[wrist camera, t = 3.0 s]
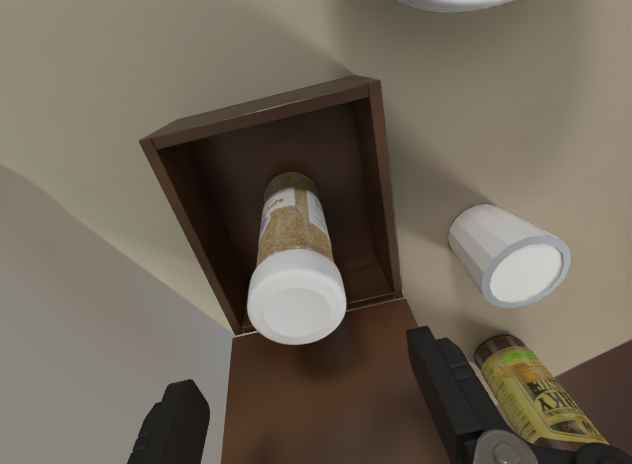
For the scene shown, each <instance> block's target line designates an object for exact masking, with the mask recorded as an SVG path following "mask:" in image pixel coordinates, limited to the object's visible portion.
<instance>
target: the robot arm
mask: <svg viewBox="0 0 632 464" xmlns="http://www.w3.org/2000/svg"><path fill="white" fill-rule="evenodd" d="M406 336H407V344H408V353H409V360H410V364H411V367H412V371H413V373H414V376H415V378H416V381H417V383H418V386H419V388H420V390H421V393H422V395H423V398H424V400H425V402H426V405H427V407H428V410H429V412H430V414H431V417H432V419H433V422H434V424H435V426H436V429H437V431H438V434H439V436H440V438H441V441H442V443H443V446H444V448H445V450H446V453H447V455H448V458H449V460H450V462H451V464H632V457H631V456H629V455H628V454H627V453H625V452H623V451H622V450H620V449H618V448H616V447H614V446H611V445H608V444H604V443H599V442H590V443H586V444H584V445H582V446H581V447H580V448H579V449H578V451H577V452H576V451H569V450H562V449H554V448H547V447H542V446H538V445H535V444H533V443H530V442H528V441H526V440H525V439H523V438H521V437H520V436H519V435H517V434H516V433H515V432H514V431H513V430H511V428H510V427H509V426H508V425H507V423H506V422H505V421H504V419H503V418H502V416H501V414H500V413H499V411H498V409H497V408H496V406H495V404H494V403H493V401H492V400H491V398H490V396H489V395H488V393H487V391H486V390H485V388H484V387H483V385H482V383H481V382H480V380H479V378H478V377H477V376H476V374H475V372H474V370H473V369H472V367H471V365H469V363H468V361H467V359H466V357H465V356H464V354H463V352H462V351H461V349H460V348H459V347H458V346H457V345H455V344H454V343H453V342H452V341H450V340H449V339H448V338H442V339H438V340H435V338H434V336H433V334H432V333H431V331H430V329H429V328H428V326H422V327H418V328H413V329H409V330H406ZM209 420H210V410H209V405H208V402H207V401H206V399H205V398H204V396H203V395H202V393H201V392H200V390H199V389H198V387H197V386H196V384H195V382H194V381H193V380H191V379H189V380H184V381H180V382H176V383H171V384H169V385H168V386H167V388H166V390H165V393H164V396H163V399H162V401H161V402H159V403H156V404H155V405H154V406H153V408H152V409H151V411H150V412H149V413H148V415H147V416H146V418H145V420H144V422H143V424H142V427H141V430H140V432H139V434H138V439H137V440H136V442H135V445H134V447H133V453H131V455H130V458H129V460H128V463H127V464H200V463H201V459H202V454H203V449H204V444H205V439H206V435H207V430H208V425H209Z"/></svg>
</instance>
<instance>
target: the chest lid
mask: <svg viewBox="0 0 632 464" xmlns="http://www.w3.org/2000/svg"><path fill="white" fill-rule="evenodd" d="M413 328H418V325H417V323H416V321H415V318H414V316H413V314H412V312H411V309H410V307H409V305H408V303H407V300H406V299H402V300H398V301H393V302H389V303H384V304H380V305H376V306H371V307H367V308H363V309H358V310H354V311H349V312H345V315H344V317H343V319H342V321H341V323H340V324H339V325H338V327H337V328H336V329H335V330H334V331H333V332H331V333H330V334H329V335H327V336H326V337H324V338H322V339H320V340H318V341H315V342H311V343H307V344H301V345H289V344H282V343H278V342H275V341H272V340H270V339H268V338H266V337H265V336H263V335H262V334H260V333H259V332H258V333H253V334H249V335H244V336H240V337H236V338H233V341H232V352H231V362H230V373H229V383H228V394H227V404H226V415H225V426H224V437H223V447H222V457H221V464H451V462H450V460H449V458H448V455H447V453H446V450H445V448H444V446H443V443H442V441H441V438H440V436H439V434H438V431H437V429H436V426H435V424H434V422H433V419H432V417H431V414H430V412H429V410H428V407H427V405H426V402H425V400H424V398H423V395H422V393H421V390H420V388H419V386H418V383H417V381H416V378H415V376H414V373H413V371H412V367H411V364H410V360H409V353H408V344H407V336H406V330H409V329H413Z"/></svg>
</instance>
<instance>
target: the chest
mask: <svg viewBox="0 0 632 464" xmlns="http://www.w3.org/2000/svg"><path fill="white" fill-rule="evenodd" d="M139 143H140V145H141V147H142V149H143V151H144V153H145V155H146V157H147V159H148V161H149V163H150V165H151V167H152V169H153V171H154V173H155V175H156V177H157V179H158V181H159V183H160V185H161V187H162V189H163V191H164V193H165V195H166V197H167V199H168V201H169V203H170V205H171V207H172V209H173V211H174V213H175V215H176V217H177V219H178V221H179V223H180V225H181V227H182V229H183V231H184V233H185V235H186V237H187V239H188V241H189V243H190V245H191V247H192V249H193V251H194V253H195V255H196V257H197V259H198V261H199V263H200V265H201V267H202V270H203V272H204V274H205V276H206V278H207V280H208V282H209V284H210V286H211V288H212V290H213V292H214V294H215V296H216V298H217V300H218V302H219V304H220V306H221V308H222V310H223V312H224V314H225V316H226V318H227V320H228V322H229V324H230V326H231V328H232V330H233V332H234V334H235V335H240V334H243V333H249V332H254V331H257V330H256V329H255V327H254V326H253V325H252V323H251V321H250V319H249V316H248V312H247V301H248V293H249V287H250V281H251V278H252V275H253V273H254V271H255V269H256V266H257V256H258V250H259V247H258V245H259V236H260V228H261V221H262V212H263V208H264V204H265V203H264V193H265V189H266V187H267V186H268V184H269V183H270V181H271V180H272V179H274V178H275V177H276V176H278V175H280V174H283V173H287V172H298V173H301V174H303V175H305V176H307V177H308V178H310V179H311V180H312V181H313V182H314V183H315V185H316V187H317V189H318V192H319V202H320V204H321V206H322V210H323V214H324V218H325V222H326V226H327V231H328V235H329V239H330V243H331V251H332V255H333V260H334V263H335V265H336V267H337V268H338V270H339V272H340V274H341V278H342V282H343V286H344V290H345V296H346V310H350V309H354V308H358V307H363V306H367V305H371V304H376V303H380V302H385V301H389V300H393V299H394V298H395V299H398V298H403V297H404V296H403V286H402V277H401V268H400V258H399V249H398V240H397V230H396V221H395V212H394V202H393V193H392V184H391V174H390V165H389V156H388V146H387V137H386V128H385V118H384V109H383V100H382V90H381V81H380V80H376V79H372V78H367V77H362V76H358V75H353V76H349V77H345V78H341V79H337V80H333V81H329V82H325V83H321V84H317V85H313V86H309V87H305V88H301V89H297V90H293V91H289V92H285V93H281V94H277V95H273V96H269V97H265V98H261V99H257V100H253V101H250V102H246V103H242V104H238V105H234V106H230V107H226V108H222V109H218V110H214V111H210V112H206V113H202V114H198V115H194V116H190V117H186V118H182V119H178V120H175V121H174V122H172V123H170V124H168V125H166V126H164V127H163V128H161V129H159V130H157V131H155V132H154V133H152V134H150V135H148V136H146V137H145V138H143V139H141V140H139Z"/></svg>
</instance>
